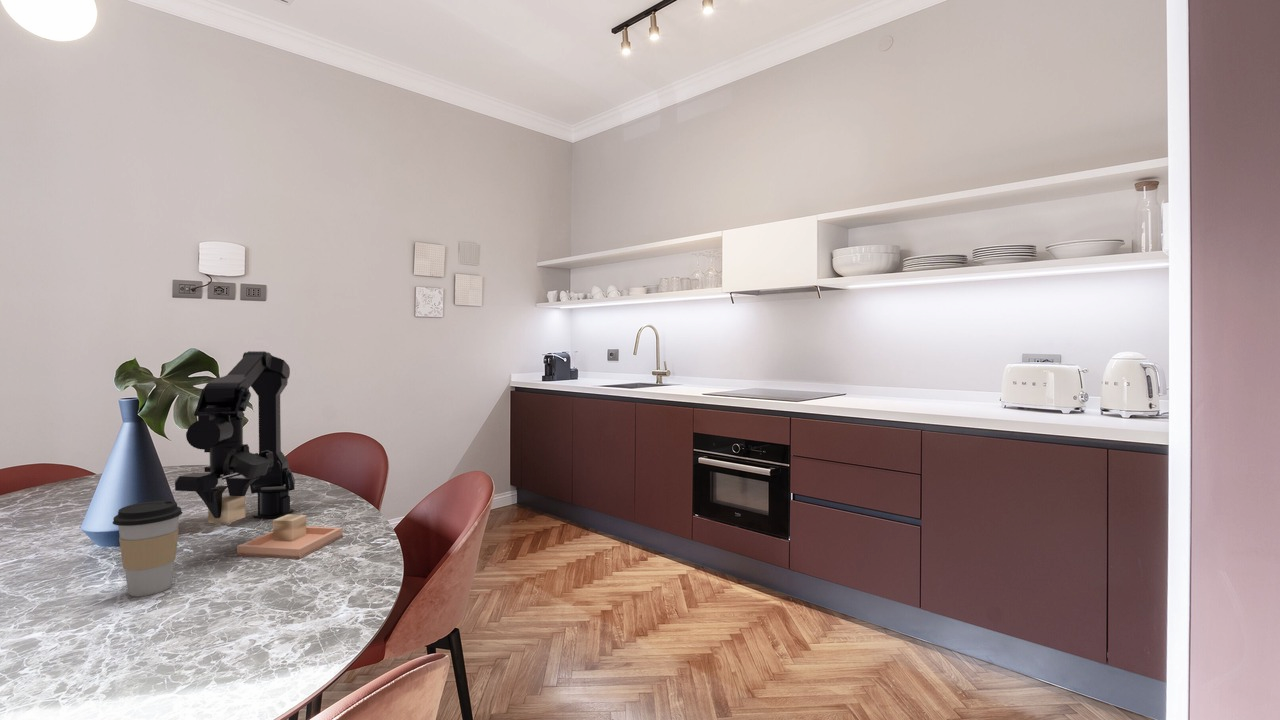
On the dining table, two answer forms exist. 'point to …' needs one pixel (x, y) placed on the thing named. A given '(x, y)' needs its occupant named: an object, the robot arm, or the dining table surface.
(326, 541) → the tray
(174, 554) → the coffee cup
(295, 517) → the block
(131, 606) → the dining table surface
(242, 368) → the robot arm
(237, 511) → the block
